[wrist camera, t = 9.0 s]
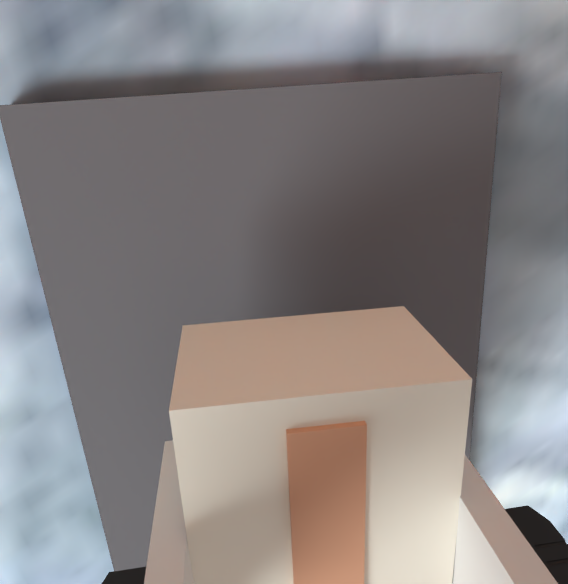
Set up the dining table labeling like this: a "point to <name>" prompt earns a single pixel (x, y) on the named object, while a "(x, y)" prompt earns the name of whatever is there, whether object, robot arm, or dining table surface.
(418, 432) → the block
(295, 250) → the charcoal mat
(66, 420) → the dining table surface
